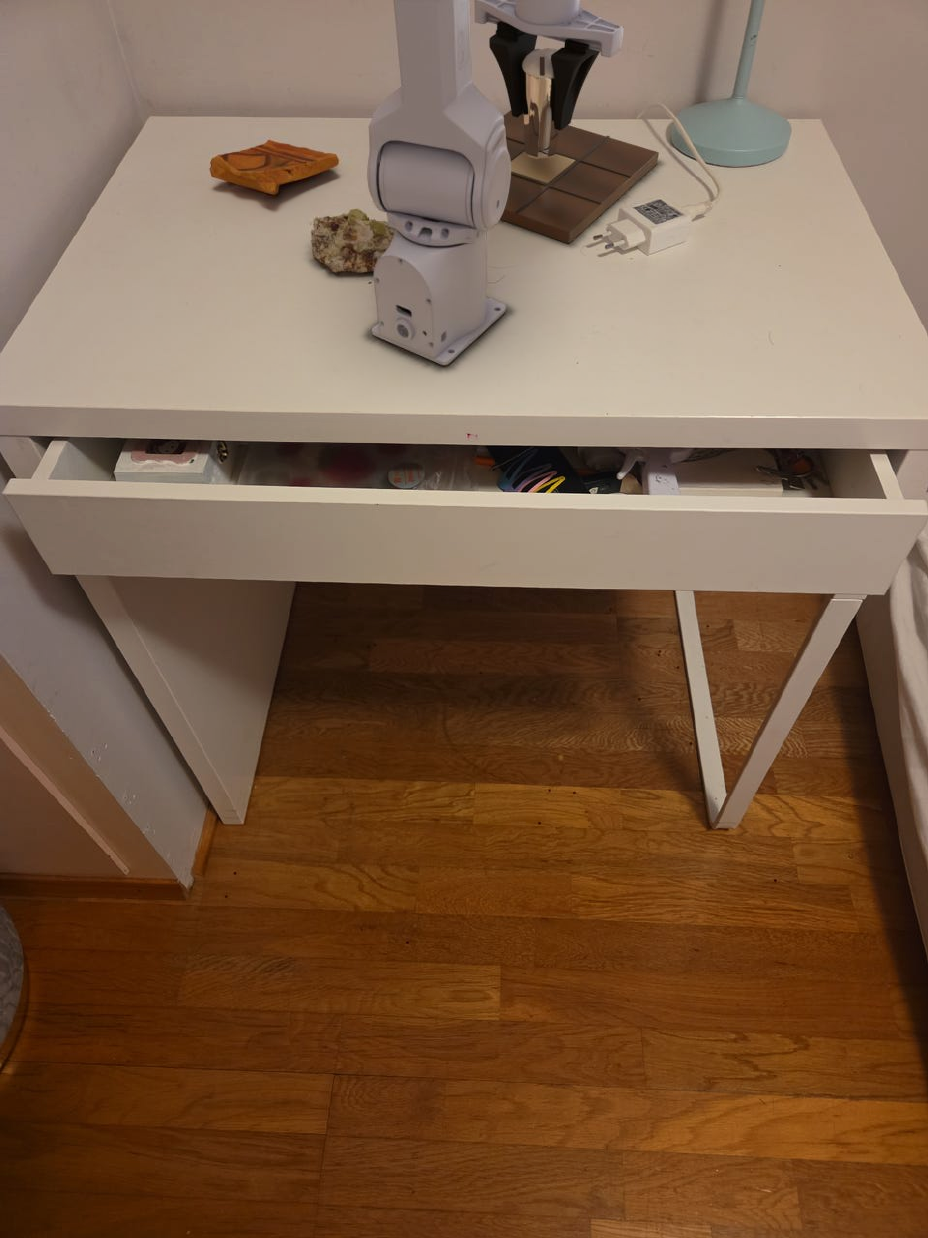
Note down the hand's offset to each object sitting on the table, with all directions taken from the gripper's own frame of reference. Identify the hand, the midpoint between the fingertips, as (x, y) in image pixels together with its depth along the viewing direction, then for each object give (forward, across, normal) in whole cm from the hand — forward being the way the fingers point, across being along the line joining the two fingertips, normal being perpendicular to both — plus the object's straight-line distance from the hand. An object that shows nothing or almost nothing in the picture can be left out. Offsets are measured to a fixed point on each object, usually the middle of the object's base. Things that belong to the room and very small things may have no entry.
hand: (541, 119), depth 87 cm
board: (+6, 0, 0) cm, 6 cm away
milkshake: (+4, 0, 0) cm, 4 cm away
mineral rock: (+6, +6, +21) cm, 23 cm away
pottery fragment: (+6, +22, +15) cm, 27 cm away
